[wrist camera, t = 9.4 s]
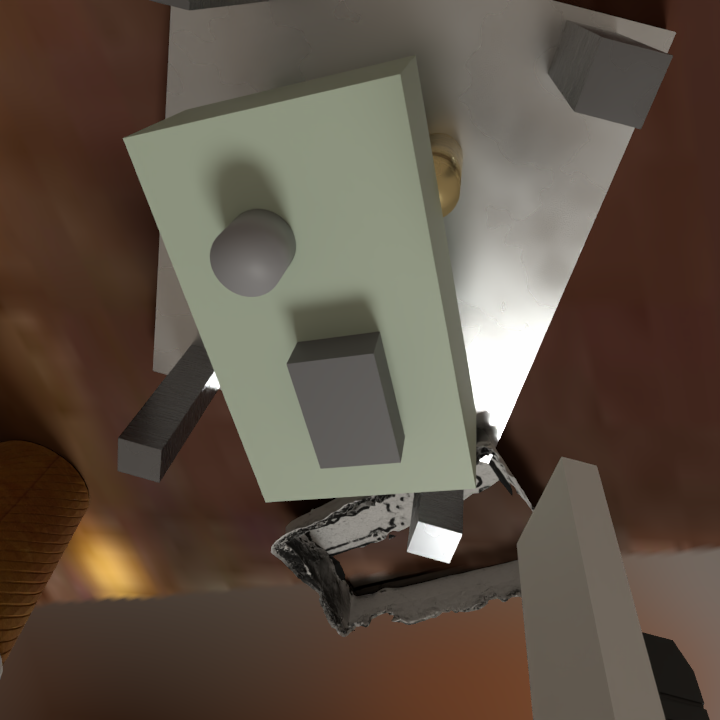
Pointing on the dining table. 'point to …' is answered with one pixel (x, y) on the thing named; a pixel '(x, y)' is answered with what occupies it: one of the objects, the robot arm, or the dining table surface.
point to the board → (321, 281)
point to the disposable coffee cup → (32, 528)
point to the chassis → (452, 167)
